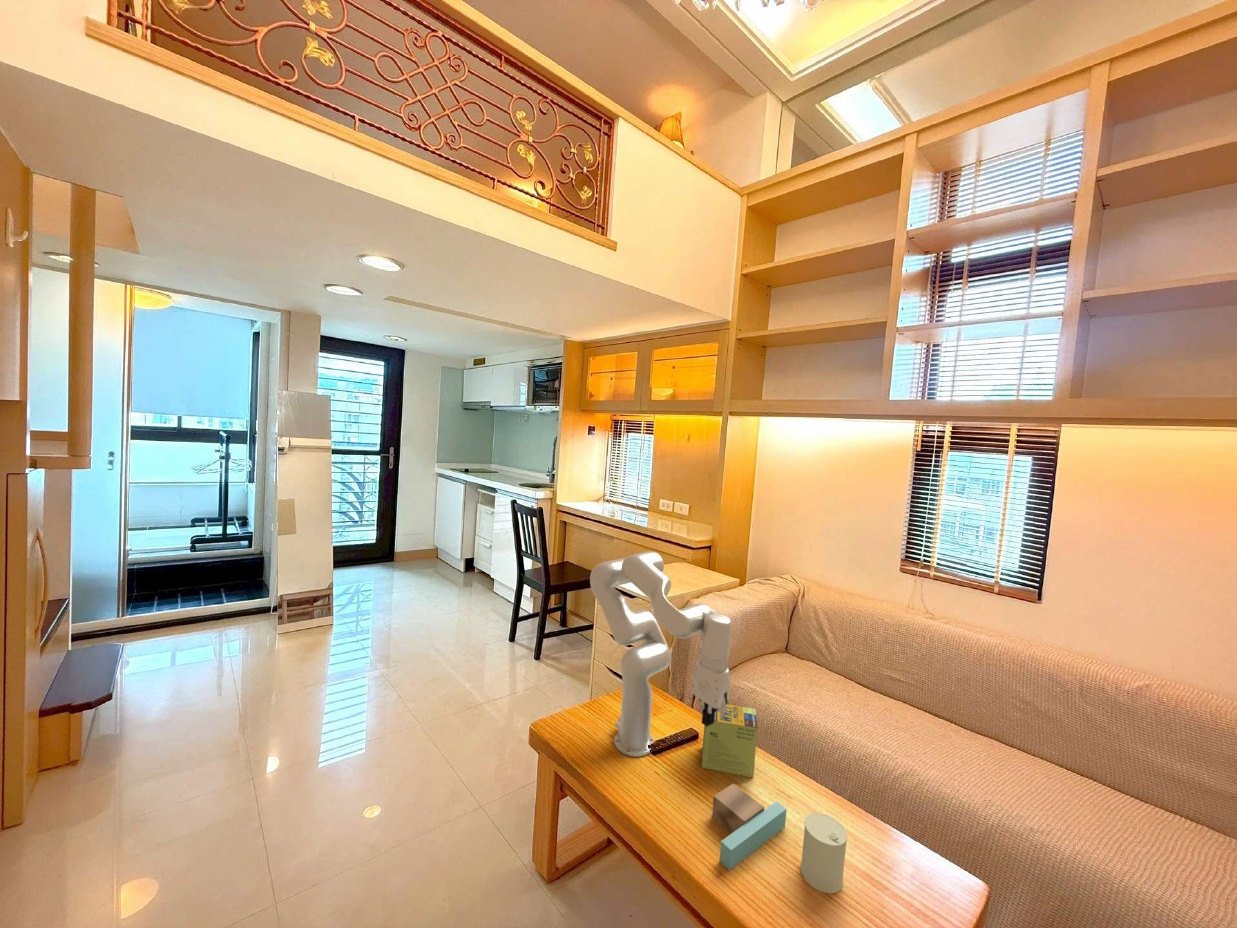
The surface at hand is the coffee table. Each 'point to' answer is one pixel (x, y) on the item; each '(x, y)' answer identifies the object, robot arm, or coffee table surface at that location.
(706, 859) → the coffee table surface
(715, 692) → the robot arm
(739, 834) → the teal board
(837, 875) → the can
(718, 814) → the brown block
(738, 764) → the protein box
